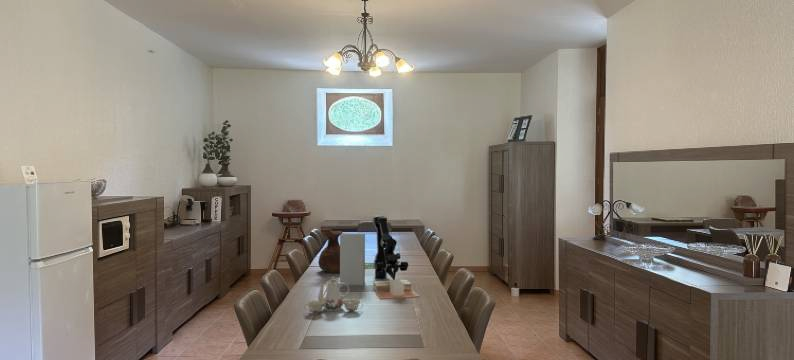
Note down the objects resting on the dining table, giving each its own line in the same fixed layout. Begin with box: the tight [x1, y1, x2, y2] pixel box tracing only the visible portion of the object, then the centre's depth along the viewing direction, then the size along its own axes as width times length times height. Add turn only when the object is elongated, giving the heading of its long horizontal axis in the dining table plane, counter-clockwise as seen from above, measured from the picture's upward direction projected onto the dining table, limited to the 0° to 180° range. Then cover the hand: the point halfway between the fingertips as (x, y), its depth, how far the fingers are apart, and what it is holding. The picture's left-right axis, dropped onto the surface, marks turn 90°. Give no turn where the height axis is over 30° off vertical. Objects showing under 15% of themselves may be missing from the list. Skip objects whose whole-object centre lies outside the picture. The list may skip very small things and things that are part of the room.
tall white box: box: [339, 233, 366, 286], centre depth 304 cm, size 14×6×30 cm, turn 84°
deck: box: [372, 279, 412, 292], centre depth 291 cm, size 11×20×4 cm, turn 104°
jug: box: [318, 228, 344, 274], centre depth 340 cm, size 22×22×30 cm
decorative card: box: [365, 259, 401, 270], centre depth 359 cm, size 33×8×20 cm
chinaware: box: [304, 276, 364, 315], centre depth 248 cm, size 28×17×17 cm, turn 106°
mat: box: [375, 289, 420, 300], centre depth 278 cm, size 13×22×1 cm, turn 104°
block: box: [389, 278, 404, 296], centre depth 279 cm, size 7×6×8 cm
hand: (394, 279), depth 286 cm, fingers closed
